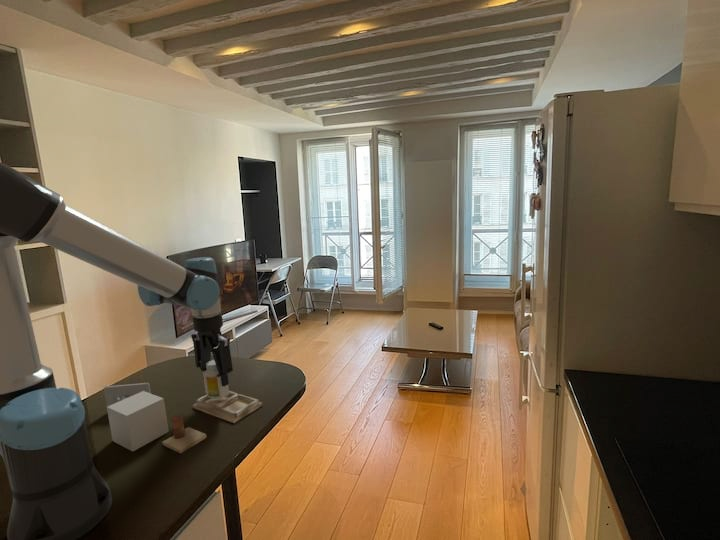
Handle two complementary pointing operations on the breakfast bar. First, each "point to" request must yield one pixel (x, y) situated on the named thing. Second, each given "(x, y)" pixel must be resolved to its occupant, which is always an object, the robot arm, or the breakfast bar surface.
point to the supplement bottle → (211, 380)
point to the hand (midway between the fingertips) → (217, 393)
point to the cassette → (123, 391)
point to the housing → (137, 420)
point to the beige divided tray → (228, 406)
